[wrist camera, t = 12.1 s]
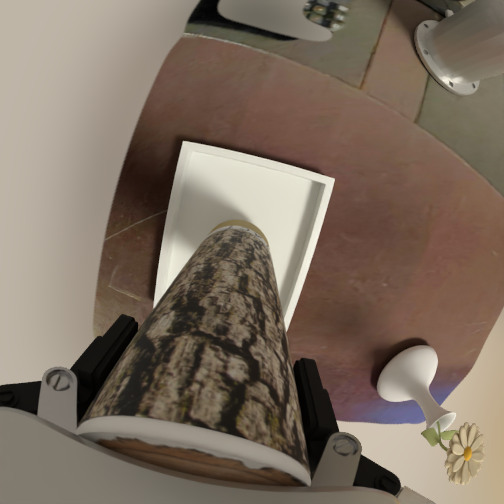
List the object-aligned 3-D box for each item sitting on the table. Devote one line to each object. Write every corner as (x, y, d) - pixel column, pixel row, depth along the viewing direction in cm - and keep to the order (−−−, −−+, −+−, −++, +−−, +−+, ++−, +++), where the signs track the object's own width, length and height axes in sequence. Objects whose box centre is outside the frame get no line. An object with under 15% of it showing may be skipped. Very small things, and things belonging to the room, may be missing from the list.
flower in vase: (441, 356, 36) (515, 452, 12) (395, 400, 39) (447, 506, 15) (407, 323, 34) (505, 444, 10) (354, 376, 37) (409, 514, 13)
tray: (188, 143, 28) (183, 140, 26) (328, 178, 29) (334, 179, 27) (159, 304, 33) (152, 313, 31) (280, 333, 34) (281, 344, 32)
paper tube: (237, 292, 30) (206, 533, 6) (191, 250, 29) (48, 456, 5) (283, 250, 29) (360, 493, 5) (236, 204, 28) (133, 385, 4)
